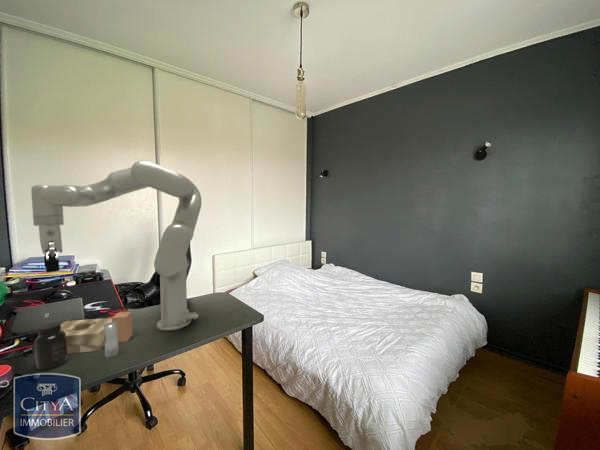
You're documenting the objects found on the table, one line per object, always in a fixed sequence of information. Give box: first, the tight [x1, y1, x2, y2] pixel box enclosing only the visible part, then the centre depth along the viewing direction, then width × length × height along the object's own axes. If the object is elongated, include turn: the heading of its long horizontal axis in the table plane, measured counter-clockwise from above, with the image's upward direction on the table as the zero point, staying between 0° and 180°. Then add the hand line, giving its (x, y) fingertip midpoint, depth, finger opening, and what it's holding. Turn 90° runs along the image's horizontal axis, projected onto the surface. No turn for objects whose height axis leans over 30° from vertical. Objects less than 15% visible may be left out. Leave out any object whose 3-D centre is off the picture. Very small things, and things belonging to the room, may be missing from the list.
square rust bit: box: [111, 311, 134, 343], centre depth 91 cm, size 4×4×9 cm
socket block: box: [60, 317, 112, 355], centre depth 88 cm, size 16×12×6 cm
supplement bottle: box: [33, 322, 69, 371], centre depth 76 cm, size 7×7×12 cm
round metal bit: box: [104, 322, 119, 358], centre depth 81 cm, size 4×4×10 cm
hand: (51, 268), depth 89 cm, fingers open, 9 cm apart
